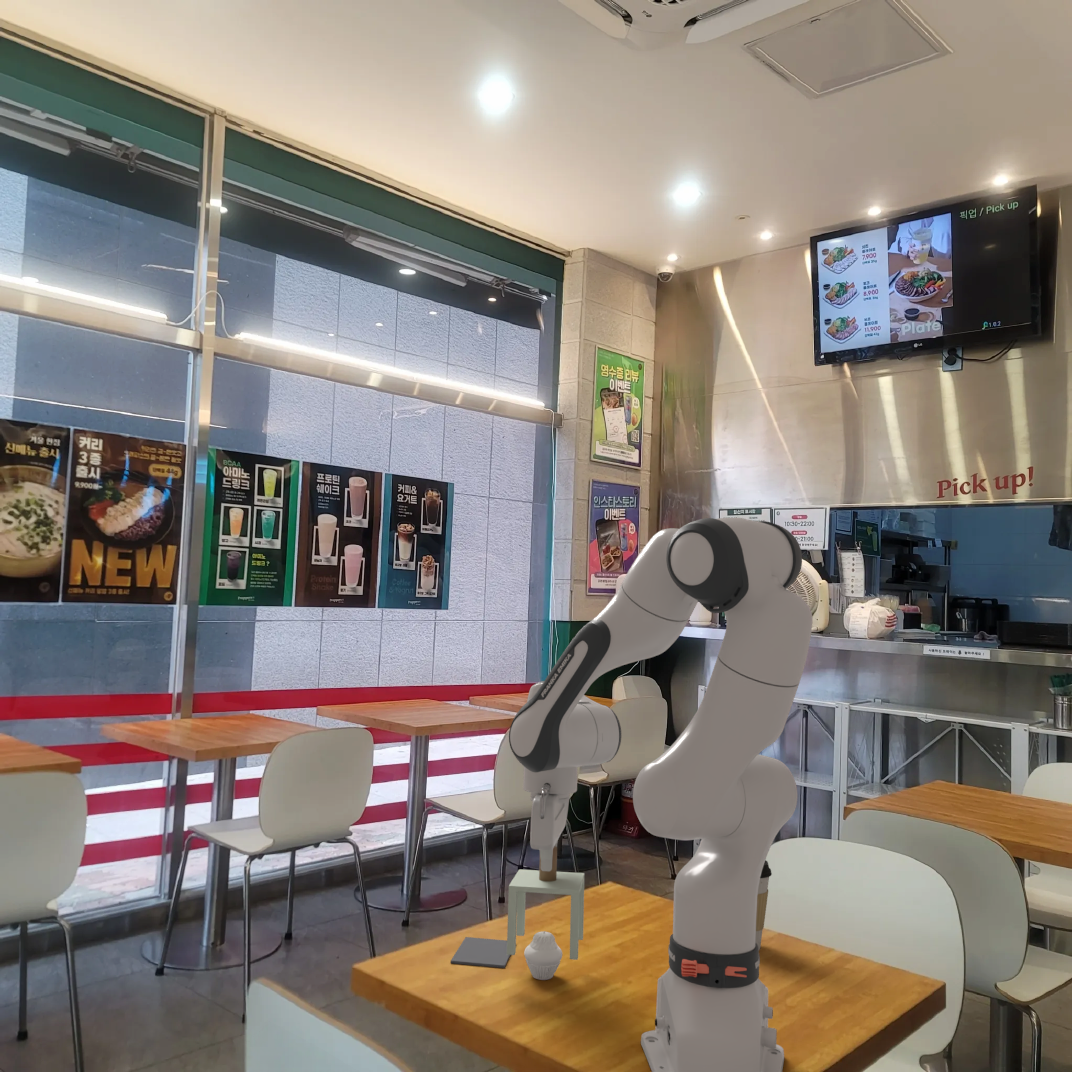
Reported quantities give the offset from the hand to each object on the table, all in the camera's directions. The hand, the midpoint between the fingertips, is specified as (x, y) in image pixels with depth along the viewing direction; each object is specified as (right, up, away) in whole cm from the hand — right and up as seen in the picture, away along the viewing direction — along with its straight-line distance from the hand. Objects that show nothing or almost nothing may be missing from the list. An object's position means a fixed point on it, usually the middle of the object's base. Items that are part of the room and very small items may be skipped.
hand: (548, 867), depth 149 cm
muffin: (-1, -17, -1) cm, 17 cm away
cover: (0, -12, -1) cm, 12 cm away
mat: (-11, -18, +8) cm, 22 cm away
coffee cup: (+35, -20, +17) cm, 44 cm away
